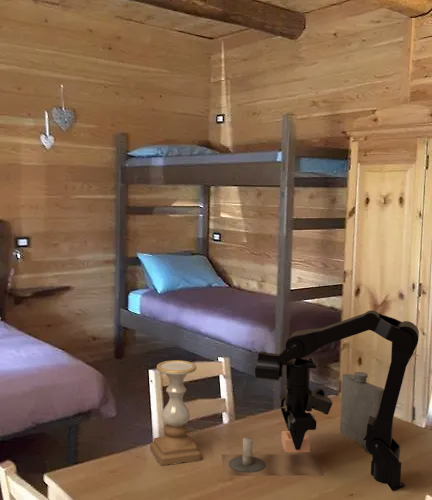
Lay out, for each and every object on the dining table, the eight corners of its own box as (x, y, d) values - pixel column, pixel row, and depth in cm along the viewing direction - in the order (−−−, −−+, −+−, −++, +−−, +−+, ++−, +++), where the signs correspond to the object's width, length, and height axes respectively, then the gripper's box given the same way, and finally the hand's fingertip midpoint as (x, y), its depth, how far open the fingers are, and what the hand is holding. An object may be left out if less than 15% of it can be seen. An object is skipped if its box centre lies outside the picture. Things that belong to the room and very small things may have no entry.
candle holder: (149, 449, 176) (150, 361, 173) (188, 444, 180) (190, 358, 177) (160, 466, 166) (161, 373, 163) (202, 460, 170) (203, 369, 167)
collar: (305, 442, 168) (305, 430, 167) (309, 452, 162) (310, 440, 161) (281, 442, 167) (281, 430, 167) (285, 452, 161) (285, 440, 161)
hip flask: (383, 453, 176) (386, 380, 174) (370, 456, 174) (374, 382, 172) (346, 432, 190) (349, 364, 188) (335, 434, 189) (337, 366, 187)
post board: (314, 459, 171) (315, 430, 171) (324, 481, 160) (325, 449, 159) (221, 460, 170) (222, 429, 169) (224, 481, 158) (225, 449, 157)
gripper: (339, 395, 154) (336, 460, 156) (322, 372, 172) (319, 430, 174) (291, 395, 153) (289, 460, 155) (279, 371, 172) (277, 430, 174)
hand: (295, 444), depth 164 cm, fingers closed on collar, 6 cm apart
